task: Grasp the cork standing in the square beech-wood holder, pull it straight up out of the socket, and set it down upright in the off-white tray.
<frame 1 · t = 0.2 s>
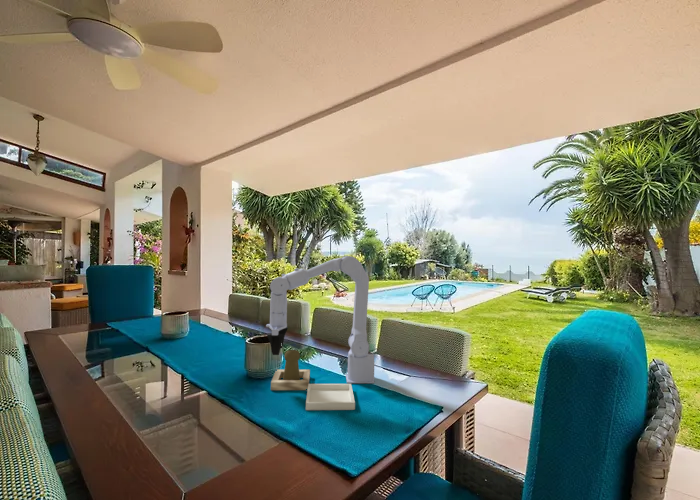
hand: (277, 351, 116), 10 cm above the table, tool pointing down, fingers open, 7 cm apart
tray: (330, 399, 103), on the table
holder: (291, 382, 115), on the table
cork: (291, 383, 115), resting in holder
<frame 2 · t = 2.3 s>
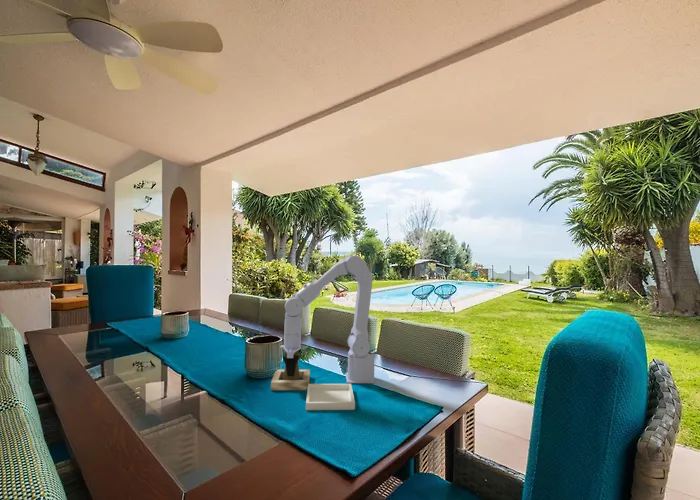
hand: (291, 372, 115), 3 cm above the table, tool pointing down, fingers closed on cork, 5 cm apart
cork: (291, 383, 115), resting in holder, touching gripper
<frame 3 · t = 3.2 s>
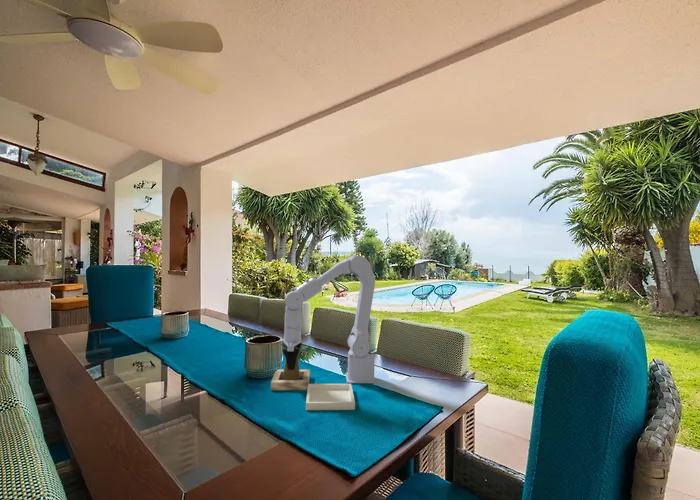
hand: (292, 366, 115), 6 cm above the table, tool pointing down, fingers closed on cork, 5 cm apart
cork: (291, 380, 115), point 1 cm above the table, touching gripper
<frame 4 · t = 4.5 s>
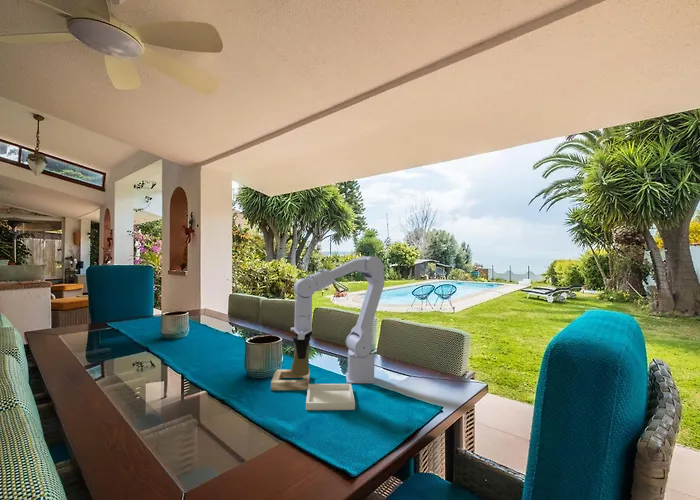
hand: (302, 355, 112), 10 cm above the table, tool pointing down, fingers closed on cork, 5 cm apart
cork: (299, 372, 112), point 5 cm above the table, touching gripper
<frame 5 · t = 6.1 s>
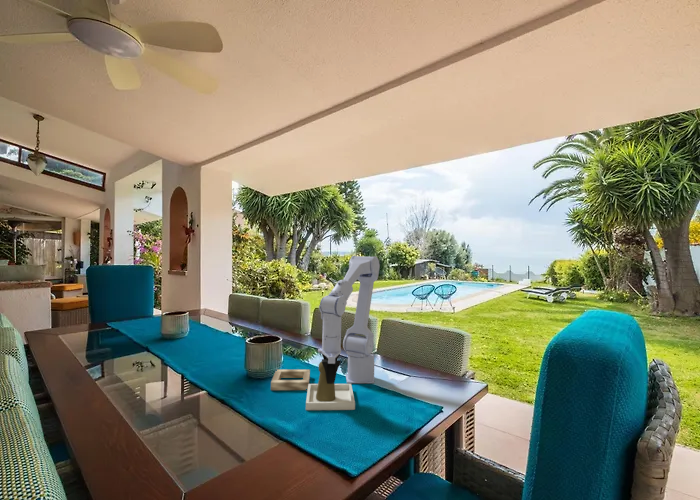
hand: (330, 379, 103), 6 cm above the table, tool pointing down, fingers closed on cork, 5 cm apart
cork: (325, 398, 103), resting on tray, touching gripper
when the fingers open (5 cm above the table, at t = 6.7 s): cork stays where it is, resting on tray.
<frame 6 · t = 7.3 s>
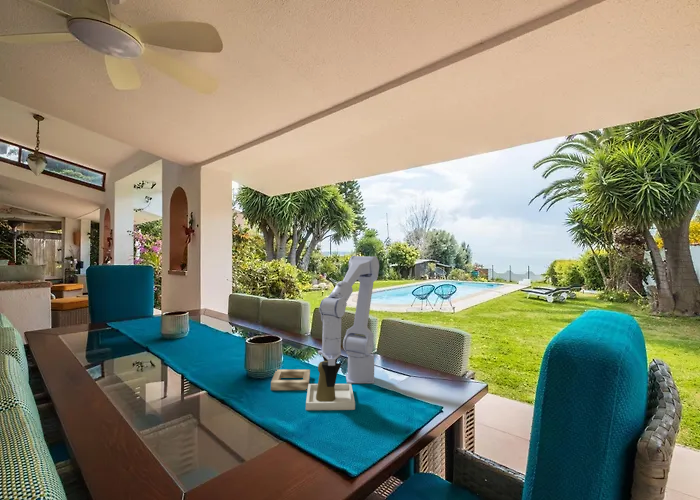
hand: (330, 381, 103), 5 cm above the table, tool pointing down, fingers open, 7 cm apart
cork: (325, 398, 103), resting on tray
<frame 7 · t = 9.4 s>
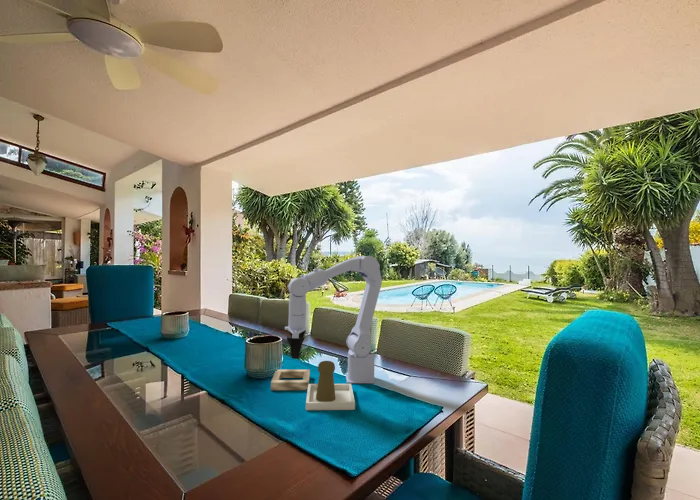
hand: (296, 354, 113), 10 cm above the table, tool pointing down, fingers open, 7 cm apart
nothing on the table moved.
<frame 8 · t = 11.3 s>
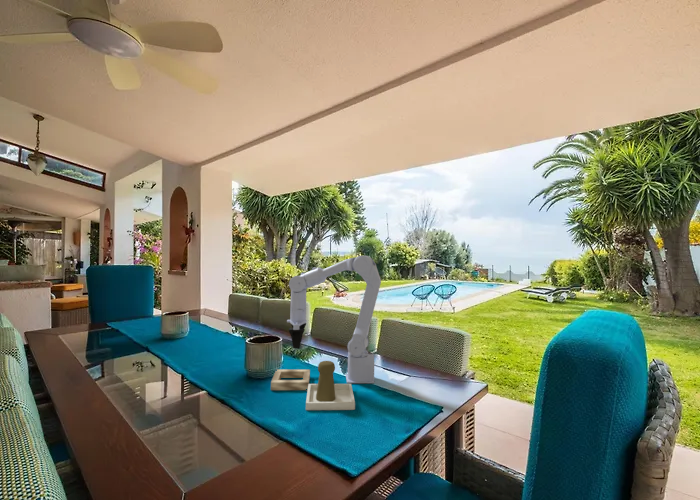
hand: (297, 345, 124), 10 cm above the table, tool pointing down, fingers open, 7 cm apart
nothing on the table moved.
at the end: cork inside the target area on the tray (1.3 cm from its centre), point 0.3 cm above the tray's base; cork tilted 0°; the gripper is holding nothing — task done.
